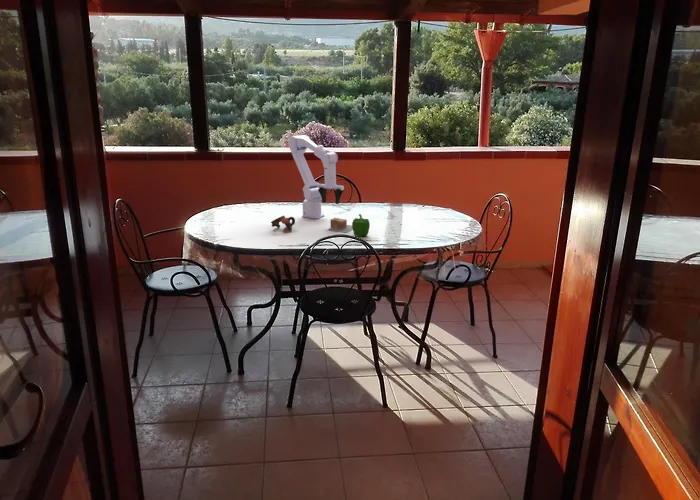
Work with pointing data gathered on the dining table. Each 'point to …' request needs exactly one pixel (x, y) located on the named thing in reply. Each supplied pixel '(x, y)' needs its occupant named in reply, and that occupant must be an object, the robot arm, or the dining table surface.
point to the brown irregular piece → (284, 221)
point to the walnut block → (338, 223)
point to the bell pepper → (360, 226)
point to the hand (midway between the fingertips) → (330, 202)
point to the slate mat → (345, 230)
